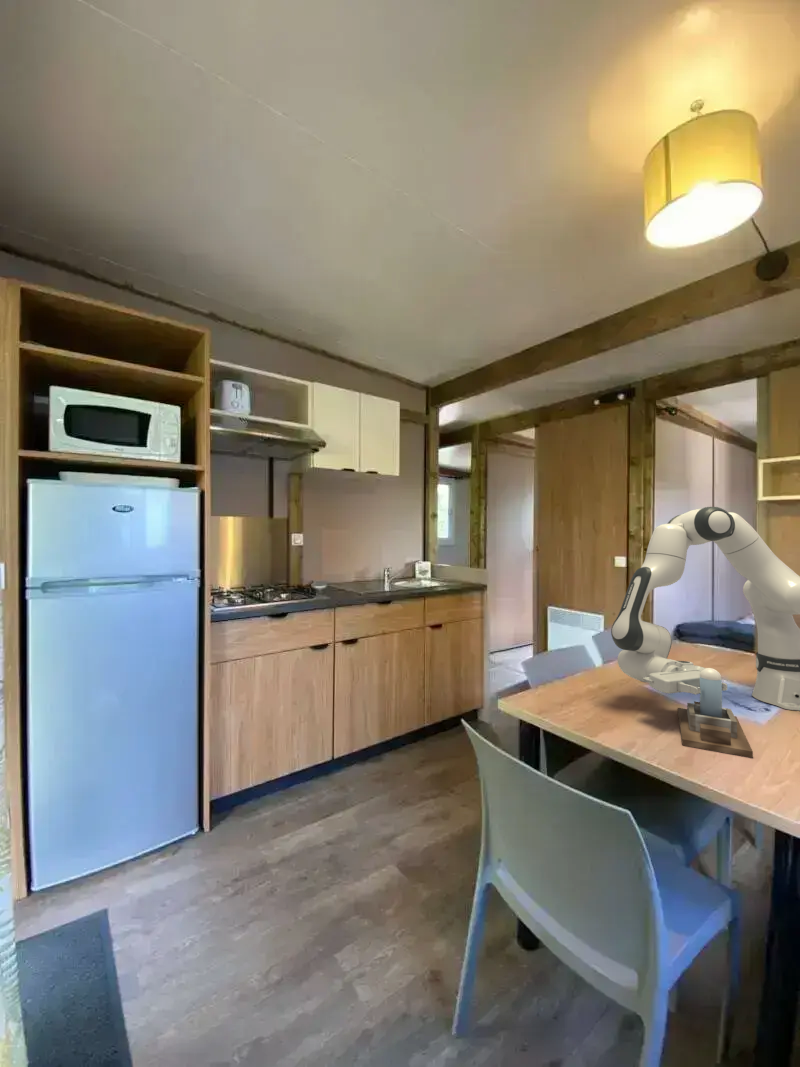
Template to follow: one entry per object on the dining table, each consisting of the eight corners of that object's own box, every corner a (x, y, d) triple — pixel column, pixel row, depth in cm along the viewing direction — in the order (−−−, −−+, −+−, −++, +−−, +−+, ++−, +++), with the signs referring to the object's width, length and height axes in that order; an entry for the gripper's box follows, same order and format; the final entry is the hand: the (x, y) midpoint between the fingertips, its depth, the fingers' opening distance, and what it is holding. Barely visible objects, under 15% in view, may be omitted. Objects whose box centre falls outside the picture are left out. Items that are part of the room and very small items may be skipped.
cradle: (736, 721, 129) (736, 701, 129) (752, 758, 108) (752, 734, 108) (677, 712, 135) (677, 693, 135) (682, 745, 114) (682, 722, 114)
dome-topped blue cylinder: (721, 725, 122) (720, 667, 123) (723, 732, 118) (722, 671, 118) (699, 722, 125) (698, 664, 125) (701, 728, 120) (700, 669, 121)
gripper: (638, 666, 131) (681, 681, 118) (692, 660, 137) (739, 673, 124) (638, 689, 131) (681, 706, 118) (693, 682, 137) (740, 697, 124)
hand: (712, 689), depth 121 cm, fingers open, 8 cm apart
